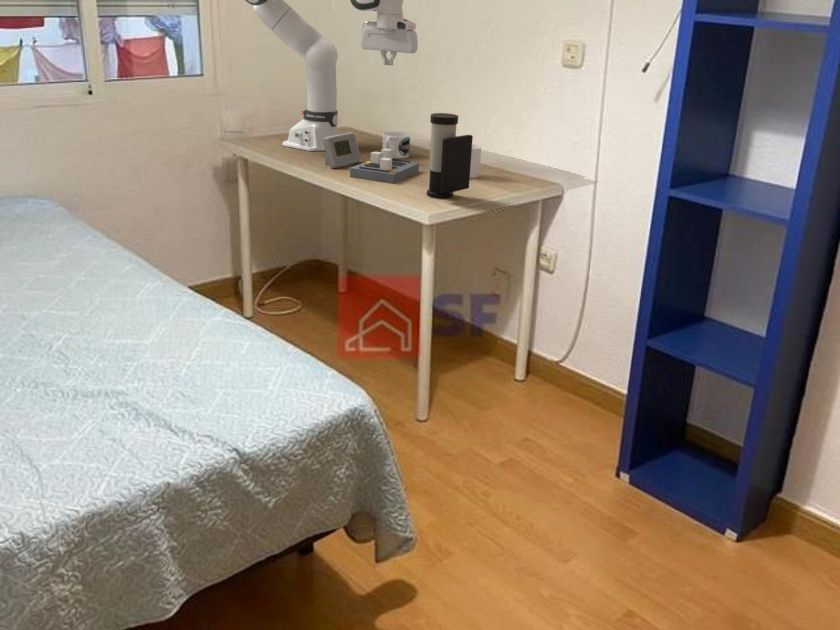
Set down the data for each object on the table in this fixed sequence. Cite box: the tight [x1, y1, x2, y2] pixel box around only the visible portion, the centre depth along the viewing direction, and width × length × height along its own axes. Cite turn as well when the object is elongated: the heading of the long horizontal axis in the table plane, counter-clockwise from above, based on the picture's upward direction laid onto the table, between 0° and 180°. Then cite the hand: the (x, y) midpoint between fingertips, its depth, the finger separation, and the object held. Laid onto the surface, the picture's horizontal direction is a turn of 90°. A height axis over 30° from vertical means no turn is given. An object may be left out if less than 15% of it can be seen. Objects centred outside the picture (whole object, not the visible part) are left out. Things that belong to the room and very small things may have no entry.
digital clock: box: [323, 131, 362, 169], centre depth 287 cm, size 16×9×11 cm, turn 134°
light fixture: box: [426, 112, 474, 199], centre depth 250 cm, size 12×11×25 cm
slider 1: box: [370, 151, 383, 164], centre depth 278 cm, size 3×3×4 cm
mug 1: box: [382, 131, 411, 159], centre depth 305 cm, size 13×10×8 cm
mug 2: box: [470, 144, 482, 180], centre depth 281 cm, size 12×8×10 cm
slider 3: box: [380, 158, 392, 171], centre depth 270 cm, size 3×3×4 cm
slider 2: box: [380, 148, 393, 159], centre depth 284 cm, size 3×3×4 cm
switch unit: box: [349, 158, 420, 184], centre depth 278 cm, size 16×21×4 cm
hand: (388, 65), depth 282 cm, fingers closed
